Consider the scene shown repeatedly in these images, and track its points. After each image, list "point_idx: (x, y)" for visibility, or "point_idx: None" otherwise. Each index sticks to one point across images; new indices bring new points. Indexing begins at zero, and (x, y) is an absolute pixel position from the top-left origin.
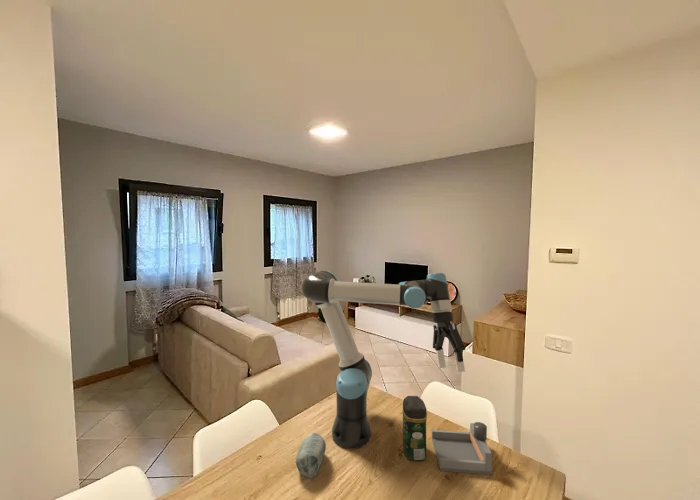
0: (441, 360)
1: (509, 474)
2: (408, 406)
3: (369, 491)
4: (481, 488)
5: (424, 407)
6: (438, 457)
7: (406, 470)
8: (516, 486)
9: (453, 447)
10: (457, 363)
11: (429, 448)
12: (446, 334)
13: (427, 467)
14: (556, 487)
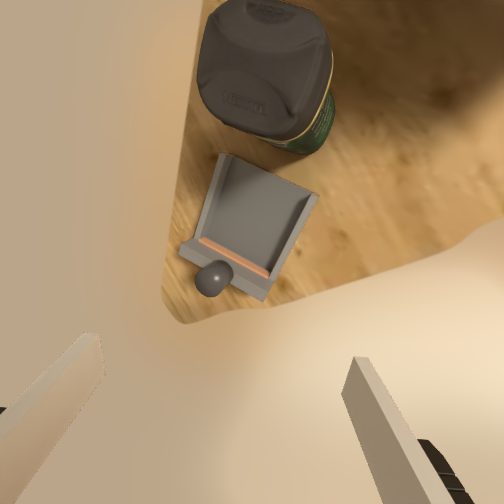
0: (371, 429)
1: (196, 269)
2: (235, 11)
3: None
4: (183, 203)
5: (216, 107)
6: (252, 167)
7: None
8: (177, 259)
9: (267, 221)
10: (36, 388)
11: (292, 168)
12: None
13: None
14: (168, 306)
